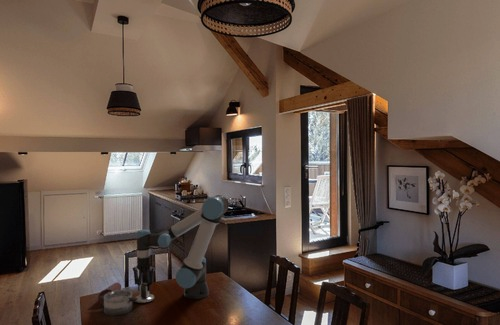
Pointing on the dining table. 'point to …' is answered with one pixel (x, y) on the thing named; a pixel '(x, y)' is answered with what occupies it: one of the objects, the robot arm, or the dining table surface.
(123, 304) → the pot
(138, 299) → the lid
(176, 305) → the dining table surface
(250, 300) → the dining table surface
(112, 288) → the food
